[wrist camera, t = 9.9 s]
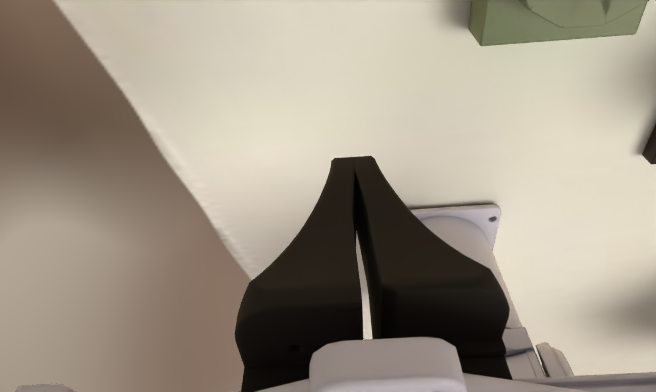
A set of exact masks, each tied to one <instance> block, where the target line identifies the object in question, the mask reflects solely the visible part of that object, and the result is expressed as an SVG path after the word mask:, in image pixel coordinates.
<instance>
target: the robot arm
mask: <svg viewBox="0 0 656 392" xmlns="http://www.w3.org/2000/svg"><path fill="white" fill-rule="evenodd" d="M492 216H494V217H492ZM500 216H501V209H500V207H499V206H498V205H496V204H489V205H474V206H458V207H443V208H428V209H412V210H409V209H408V207H407V206H406V205H405V204H404V203H403V202H402V200H401V199H400V198H399V197H398V195H397V194H396V193H395V191H394V190H393V189H392V187H391V186H390V185H389V183H388V182H387V180H386V179H385V177H384V175H383V174H382V172H381V170H380V169H379V167H378V165H377V163H376V161H375V159H374V158H373V157H372V156H363V157H346V158H334V159H333V160H332V161H331V168H330V172H329V175H328V178H327V181H326V184H325V186H324V189H323V191H322V193H321V196H320V198H319V200H318V202H317V204H316V206H315V207H314V209H313V211H312V213H311V215H310V216H309V218H308V220H307V221H306V223H305V224H304V226H303V227H302V229H301V230H300V232H299V233H298V234H297V236H296V237H295V238H294V239H293V241H292V242H291V243H290V245H289V246H288V247H287V248H286V249H285V250H284V251H283V252H282V253H281V254H280V256H279V257H278V258H277V259H276V260H275V261H274V262H273V263H272V264H271V265H270V266H269V267H268V268H266V269H265V270H264V271H263V272H262V273H261V274H259V275H258V276H257V277H256V278H255V279H253V280H252V281H251V282H250V283H249V285H248V287H247V290H246V292H245V294H244V297H243V299H242V302H241V306H240V309H239V312H238V317H237V323H236V329H235V340H236V344H237V347H238V349H239V352H240V355H241V358H242V361H243V364H244V367H245V368H244V374H243V383H242V390H241V392H656V372H650V373H628V374H606V375H585V376H574V374H573V371H572V369H571V367H570V365H569V364H568V362H567V360H566V358H565V356H564V355H563V353H562V352H561V351H559V350H557V349H555V348H553V347H551V346H550V345H549V344H548V343H545V342H544V343H541V344H538V345H536V348H537V351H538V354H539V357H540V360H541V362H542V367H543V369H542V367H541V364H540V362H539V360H538V357H537V355H536V353H535V351H534V348H533V346H532V343H531V341H530V338H529V336H528V333H527V331H526V328H525V327H522V325H521V322H520V320H519V317H518V315H517V312H516V310H515V307H514V305H513V302H512V300H511V297H510V295H509V292H508V290H507V287H506V285H505V282H504V280H503V277H502V275H501V272H500V270H499V267H498V265H497V262H496V260H495V257H494V255H493V252H492V251H493V246H494V242H495V238H496V233H497V229H498V225H499V220H500ZM490 217H492V218H490ZM356 231H357V234H358V240H359V245H360V250H361V255H362V260H363V265H364V270H365V275H366V280H367V287H368V293H369V304H370V314H371V326H372V337H373V339H370V340H363V315H362V296H361V286H360V278H359V271H358V263H357V254H356ZM543 370H544V371H543ZM544 373H545V374H544ZM15 392H76V391H75V390H74V389H73V388H71V387H69V386H66V385H64V384H42V385H22V386H19V387H18V388H17V389H16V391H15ZM239 392H240V391H239Z"/></svg>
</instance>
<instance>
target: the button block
mask: <svg viewBox="0 0 656 392" xmlns="http://www.w3.org/2000/svg"><path fill="white" fill-rule="evenodd" d="M647 1H649V0H472V7H471V15H470V23H469V30H470V32H471V33H472V35H473V36H474V38H475V39H476V40H477V42H478V43H479V45H480V46H490V45H503V44H516V43H529V42H542V41H555V40H568V39H581V38H593V37H606V36H619V35H632V34H635V33H636V31H637V28H638V26H639V23H640V20H641V17H642V15H643V12H644V9H645V6H646V4H647Z"/></svg>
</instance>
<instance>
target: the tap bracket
mask: <svg viewBox="0 0 656 392" xmlns="http://www.w3.org/2000/svg"><path fill="white" fill-rule="evenodd" d="M642 155H643V156H644V157H645V158H646V159H647V160H648V161H649V163H650V164H656V125H655V127H654V130H653V132H652V134H651V136H650V139H649V141H648V143H647V145H646V148H645V150H644V152H643V154H642Z"/></svg>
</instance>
